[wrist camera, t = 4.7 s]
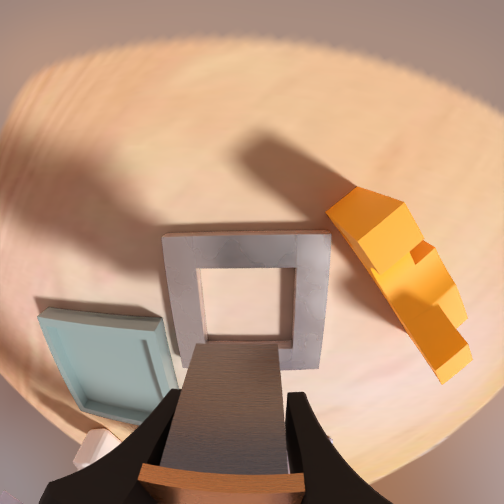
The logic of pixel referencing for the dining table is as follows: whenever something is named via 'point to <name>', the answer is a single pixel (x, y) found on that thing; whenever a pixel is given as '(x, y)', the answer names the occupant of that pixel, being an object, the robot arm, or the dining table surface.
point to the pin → (227, 433)
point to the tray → (111, 361)
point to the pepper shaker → (95, 447)
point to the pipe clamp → (406, 275)
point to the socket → (251, 256)
